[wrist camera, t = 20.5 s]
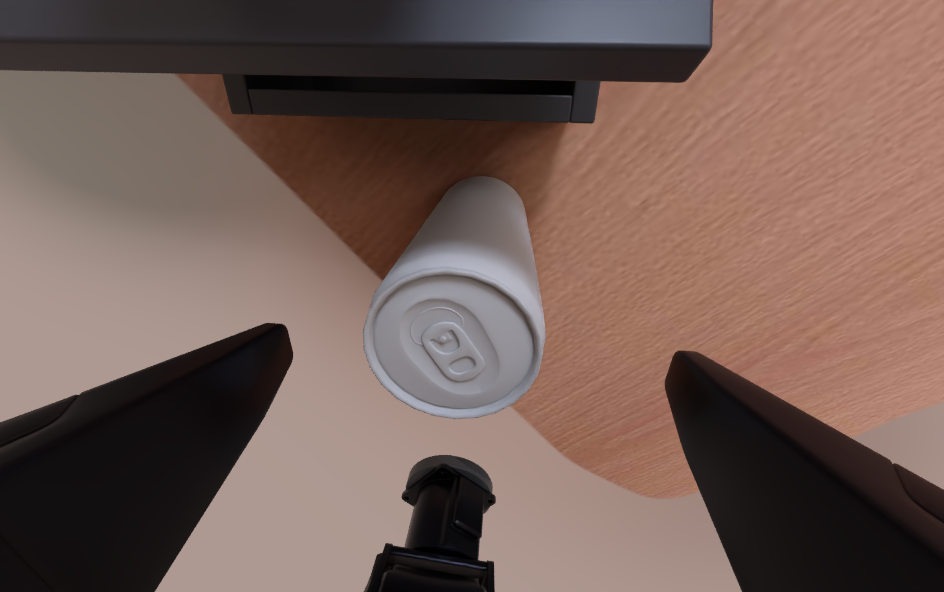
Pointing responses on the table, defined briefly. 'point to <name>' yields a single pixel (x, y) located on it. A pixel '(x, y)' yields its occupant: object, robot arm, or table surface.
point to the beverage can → (461, 307)
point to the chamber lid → (363, 38)
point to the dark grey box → (414, 98)
